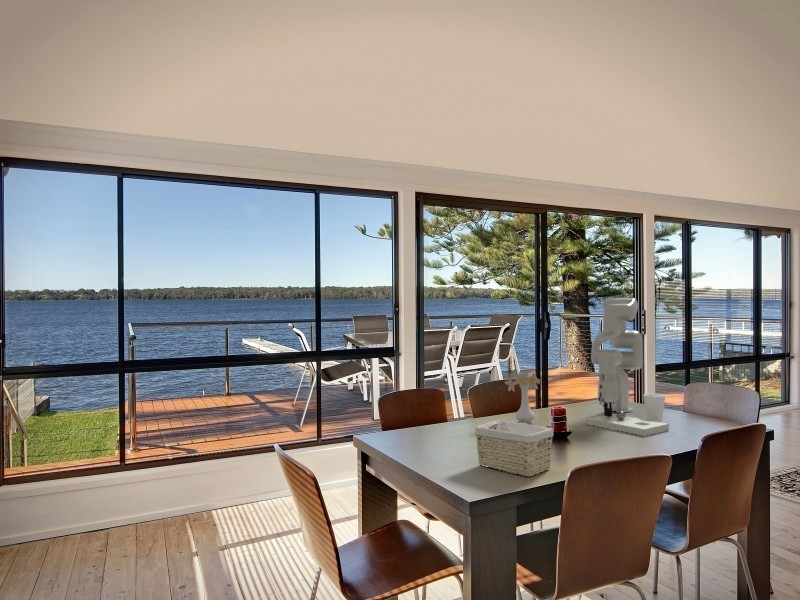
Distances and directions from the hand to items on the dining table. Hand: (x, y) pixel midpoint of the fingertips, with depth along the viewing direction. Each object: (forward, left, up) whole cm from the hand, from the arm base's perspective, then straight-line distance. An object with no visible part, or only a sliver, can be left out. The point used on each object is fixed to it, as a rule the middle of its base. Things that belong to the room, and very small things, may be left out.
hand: (608, 416), depth 267 cm
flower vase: (-25, -30, -4) cm, 39 cm away
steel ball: (+7, 0, +1) cm, 7 cm away
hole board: (+10, 0, -4) cm, 11 cm away
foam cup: (+11, +20, -4) cm, 23 cm away
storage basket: (+25, -86, -4) cm, 89 cm away
